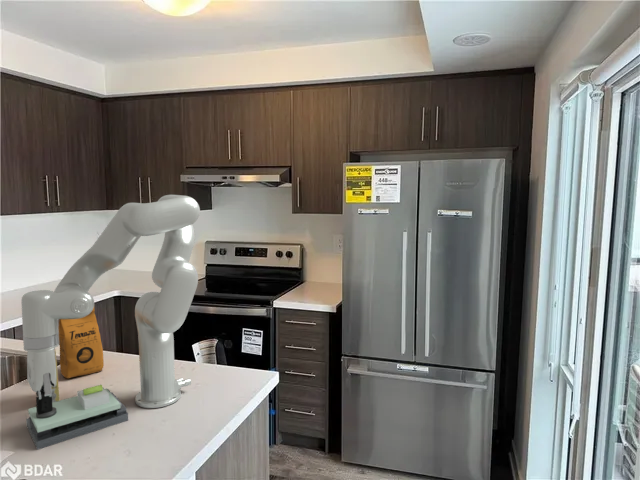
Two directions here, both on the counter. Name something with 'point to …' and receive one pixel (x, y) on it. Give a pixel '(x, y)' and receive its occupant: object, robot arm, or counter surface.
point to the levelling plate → (75, 408)
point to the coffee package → (80, 346)
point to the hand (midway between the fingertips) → (44, 411)
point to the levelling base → (76, 427)
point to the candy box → (56, 389)
